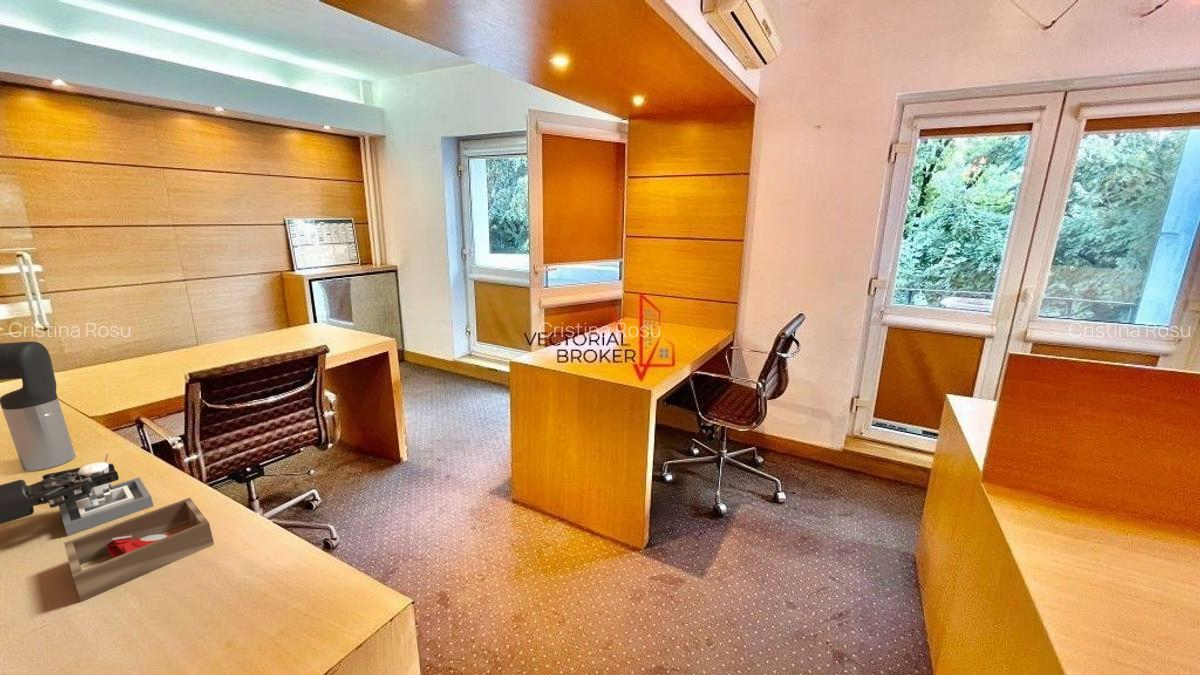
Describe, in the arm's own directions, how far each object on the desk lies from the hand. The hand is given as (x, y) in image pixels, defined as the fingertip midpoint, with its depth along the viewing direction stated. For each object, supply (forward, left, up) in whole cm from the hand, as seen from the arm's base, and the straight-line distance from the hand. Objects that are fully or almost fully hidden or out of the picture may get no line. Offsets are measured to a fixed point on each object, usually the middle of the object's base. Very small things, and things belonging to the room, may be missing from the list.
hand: (115, 471), depth 103 cm
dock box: (0, -3, -8) cm, 9 cm away
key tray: (+26, -1, -8) cm, 28 cm away
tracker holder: (+26, -1, -8) cm, 27 cm away
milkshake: (0, -3, -6) cm, 7 cm away
